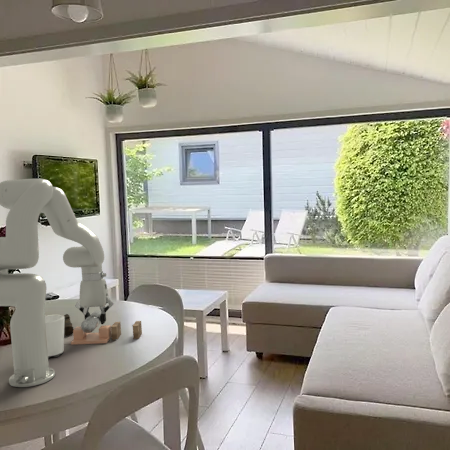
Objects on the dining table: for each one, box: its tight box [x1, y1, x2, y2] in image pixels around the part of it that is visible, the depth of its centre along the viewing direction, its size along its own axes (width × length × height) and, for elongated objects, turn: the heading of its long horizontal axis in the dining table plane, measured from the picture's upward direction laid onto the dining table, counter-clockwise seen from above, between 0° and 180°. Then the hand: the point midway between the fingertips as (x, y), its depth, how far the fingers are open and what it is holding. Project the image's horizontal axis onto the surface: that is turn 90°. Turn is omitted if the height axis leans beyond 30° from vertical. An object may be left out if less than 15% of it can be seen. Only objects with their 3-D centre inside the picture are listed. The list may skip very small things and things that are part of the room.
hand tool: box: [63, 313, 75, 337], centre depth 185 cm, size 19×4×5 cm, turn 18°
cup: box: [45, 314, 65, 359], centre depth 155 cm, size 10×10×13 cm
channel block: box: [111, 320, 143, 341], centre depth 172 cm, size 6×10×5 cm, turn 89°
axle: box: [80, 310, 101, 333], centre depth 172 cm, size 12×5×5 cm, turn 179°
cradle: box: [70, 324, 112, 345], centre depth 171 cm, size 10×13×4 cm
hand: (95, 323), depth 175 cm, fingers closed on axle, 5 cm apart
